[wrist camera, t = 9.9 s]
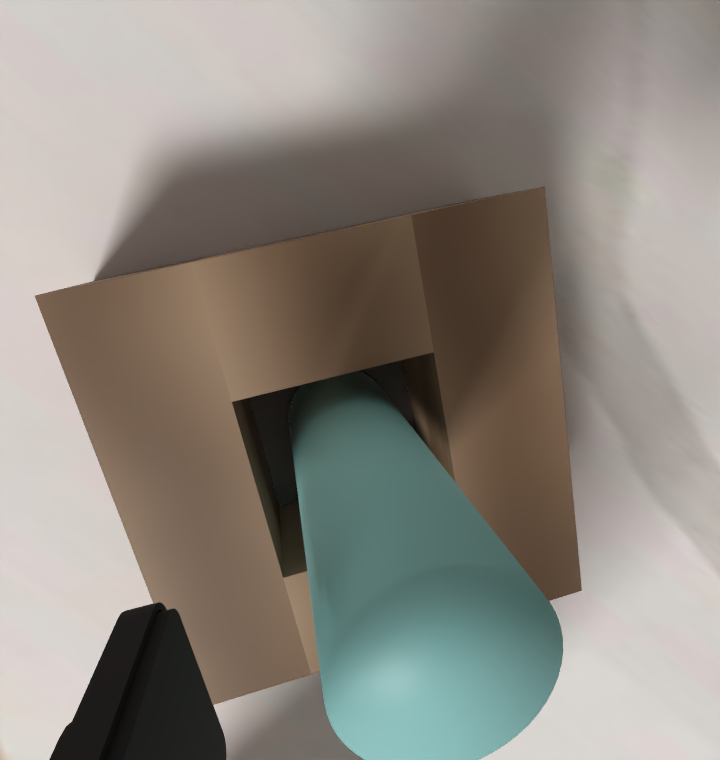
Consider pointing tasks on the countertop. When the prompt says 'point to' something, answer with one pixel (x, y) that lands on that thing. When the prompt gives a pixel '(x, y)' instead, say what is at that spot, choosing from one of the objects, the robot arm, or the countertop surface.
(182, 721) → the robot arm
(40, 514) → the countertop surface
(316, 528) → the dowel
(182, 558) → the socket block
